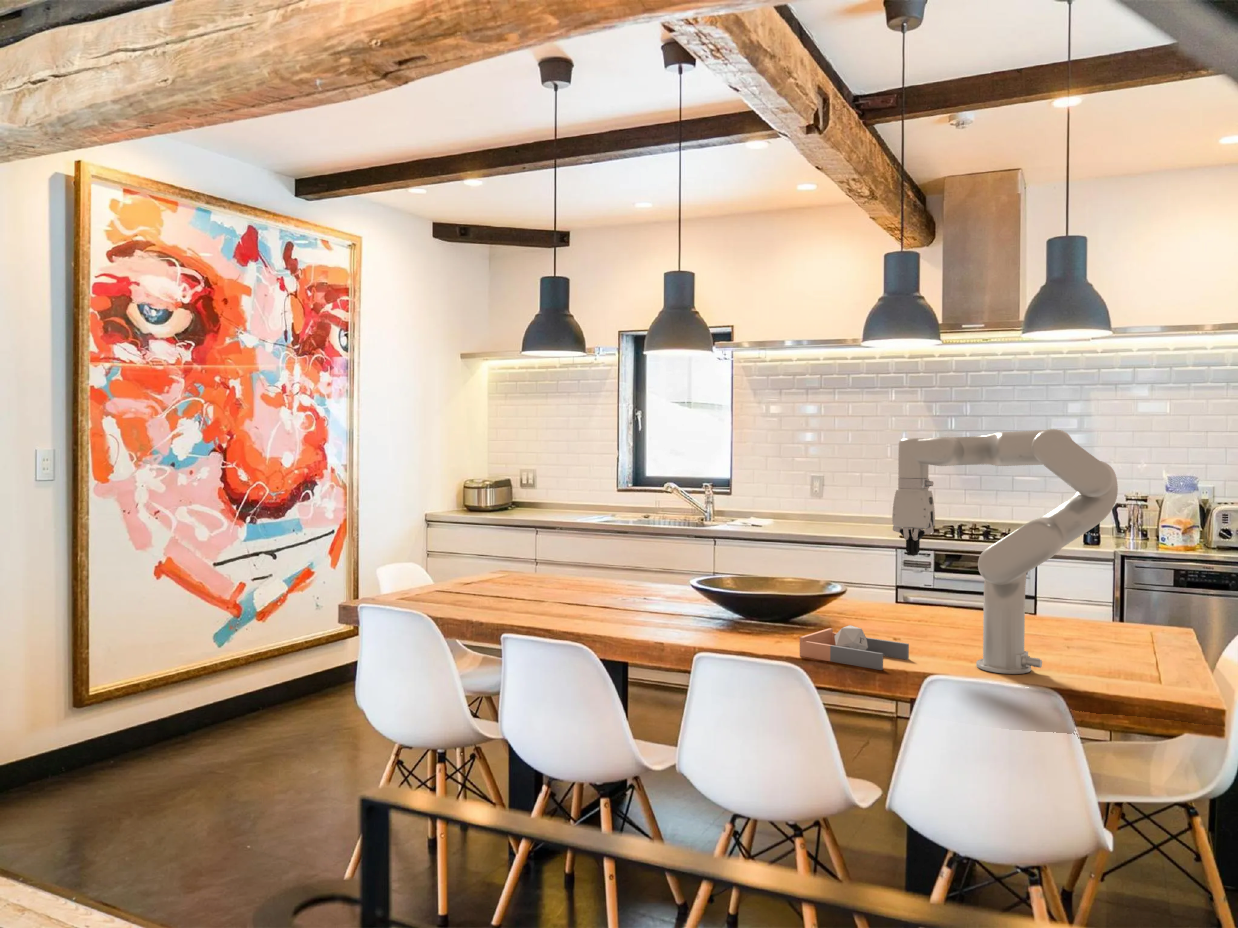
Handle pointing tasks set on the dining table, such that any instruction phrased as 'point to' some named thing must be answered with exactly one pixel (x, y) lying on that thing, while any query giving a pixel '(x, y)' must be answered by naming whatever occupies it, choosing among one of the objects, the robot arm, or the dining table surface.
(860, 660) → the two-tone shallow tray
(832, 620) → the dining table surface
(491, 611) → the dining table surface
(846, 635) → the die
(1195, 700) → the dining table surface
